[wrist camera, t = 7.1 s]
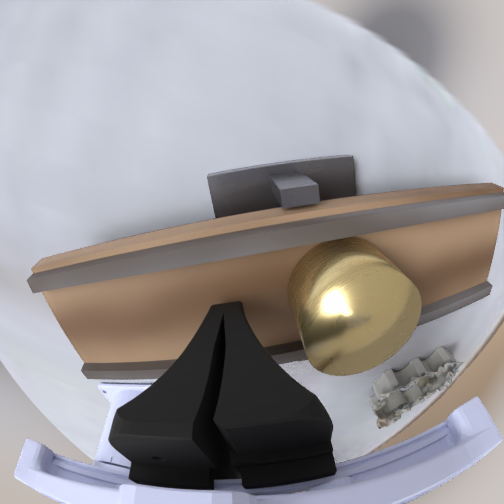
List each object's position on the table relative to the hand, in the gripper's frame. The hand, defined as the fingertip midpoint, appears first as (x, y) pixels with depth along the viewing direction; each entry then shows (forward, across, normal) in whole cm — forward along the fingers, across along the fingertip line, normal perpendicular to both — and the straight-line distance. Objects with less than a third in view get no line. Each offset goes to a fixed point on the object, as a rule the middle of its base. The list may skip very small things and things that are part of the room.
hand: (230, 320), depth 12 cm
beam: (+2, -4, 0) cm, 4 cm away
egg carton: (+6, -17, +18) cm, 25 cm away
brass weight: (+1, -5, 0) cm, 5 cm away
